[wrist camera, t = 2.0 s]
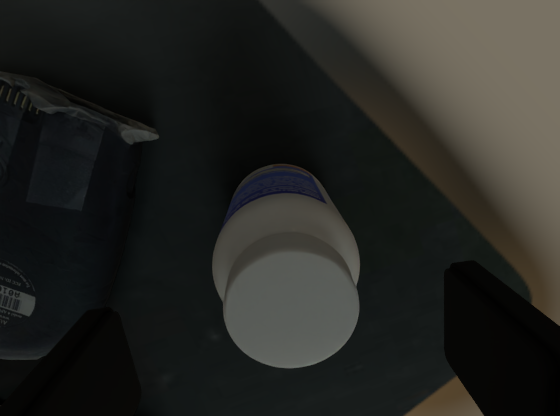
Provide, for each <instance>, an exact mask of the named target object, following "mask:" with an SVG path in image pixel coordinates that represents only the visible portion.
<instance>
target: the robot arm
mask: <svg viewBox="0 0 560 416" xmlns="http://www.w3.org/2000/svg"><path fill="white" fill-rule="evenodd" d="M444 351H445V356H446V359H447V361H448V363H449V365H450V366H451V368H452V369H453V371H454V372H455V373H456V375H457V376H458V378H459V379H460V381H461V382H462V384H463V385H464V387H465V388H466V390H467V391H468V392H469V394H470V395H471V397H472V398H473V400H474V401H475V403H476V404H477V406H478V407H479V409H480V410H481V412H482V413H483V415H484V416H560V326H559V325H557V324H556V323H555V322H553V321H552V320H551V319H550V318H548V317H547V316H546V315H544V314H543V313H542V312H541V311H539V310H538V309H537V308H535V307H534V306H533V305H531V304H530V303H529V302H528V301H526V300H525V299H524V298H522V297H521V296H520V295H518V294H517V293H516V292H515V291H513V290H512V289H511V288H509V287H508V286H507V285H506V284H504V283H503V282H502V281H500V280H499V279H498V278H496V277H495V276H494V275H493V274H491V273H490V272H489V271H487V270H486V269H485V268H483V267H482V266H481V265H480V264H478V263H477V262H476V261H474V260H473V261H464V262H457V263H452V264H451V265H450V269H446V270H445V272H444ZM140 398H141V387H140V383H139V380H138V376H137V373H136V370H135V366H134V363H133V359H132V356H131V353H130V349H129V346H128V343H127V339H126V336H125V332H124V329H123V326H122V322H121V319H120V316H119V314H118V312H116V311H115V312H113V310H112V309H111V308H109V307H107V308H99V309H91V310H87V311H86V312H85V313H84V314H83V315H82V316H81V317H80V318H79V320H78V321H77V322H76V323H75V324H74V325H73V326H72V327H71V328H70V330H69V331H68V332H67V333H66V334H65V335H64V336H63V337H62V338H61V340H60V341H59V342H58V343H57V344H56V345H55V346H54V347H53V348H52V350H51V351H50V352H49V353H48V354H47V355H46V356H45V357H44V358H43V360H42V361H41V362H40V363H39V364H38V365H37V366H36V367H35V368H34V370H33V371H32V372H31V373H30V374H29V375H28V376H27V377H26V378H25V380H24V381H23V382H22V383H21V384H20V385H19V386H18V387H17V388H16V390H15V391H14V392H13V393H12V394H11V395H10V396H9V397H8V398H7V400H6V401H5V402H4V403H3V404H2V405H1V406H0V416H134V413H135V411H136V409H137V407H138V404H139V402H140Z"/></svg>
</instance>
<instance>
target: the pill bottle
mask: <svg viewBox="0 0 560 416" xmlns="http://www.w3.org/2000/svg"><path fill="white" fill-rule="evenodd" d="M359 271H360V259H359V252H358V247H357V244H356V241H355V239H354V236H353V234H352V232H351V231H350V229H349V227H348V226H347V224H346V223H345V221H344V220H343V218H342V216H341V215H340V213H339V212H338V210H337V208H336V207H335V205H334V204H333V202H332V200H331V199H330V197H329V196H328V194H327V192H326V190H325V189H324V187H323V186H322V185H321V183H320V182H319V181H318V180H317V179H316V178H315V177H314V176H313V175H312V174H311V173H309V172H308V171H306V170H304V169H302V168H300V167H297V166H294V165H289V164H273V165H268V166H265V167H262V168H260V169H257V170H256V171H254V172H252V173H251V174H249V175H248V176H247V177H246V178H245V179H244V180H243V181H242V182H241V183H240V185H239V186H238V188H237V189H236V191H235V193H234V195H233V198H232V200H231V203H230V206H229V209H228V212H227V214H226V217H225V220H224V223H223V225H222V228H221V231H220V233H219V236H218V239H217V242H216V245H215V249H214V252H213V261H212V272H213V278H214V283H215V286H216V289H217V291H218V294H219V296H220V298H221V300H222V301H223V314H224V320H225V324H226V327H227V330H228V332H229V334H230V336H231V338H232V339H233V341H234V342H235V343H236V345H237V346H238V347H239V348H240V349H241V350H242V351H243V352H244V353H245V354H247V355H248V356H250V357H251V358H253V359H255V360H257V361H259V362H261V363H264V364H267V365H270V366H274V367H281V368H298V367H304V366H309V365H313V364H315V363H318V362H321V361H323V360H325V359H326V358H328V357H330V356H331V355H333V354H334V353H336V352H337V351H338V350H339V349H340V348H341V347H342V346H343V345H344V344H345V343H346V342H347V340H348V339H349V338H350V336H351V334H352V333H353V331H354V328H355V326H356V324H357V320H358V315H359V298H358V292H357V289H356V285H357V282H358V277H359Z"/></svg>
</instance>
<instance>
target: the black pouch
mask: <svg viewBox="0 0 560 416" xmlns="http://www.w3.org/2000/svg"><path fill="white" fill-rule="evenodd" d="M158 138H159V135H158V134H157V132H156V129H154V128H150V127H148V126H146V125H144V124H142V123H140V122H137V121H134V120H132V119H129V118H127V117H124V116H121V115H119V114H116V113H114V112H112V111H109V110H107V109H105V108H103V107H101V106H98V105H96V104H93V103H91V102H88V101H86V100H83V99H81V98H79V97H77V96H74V95H72V94H70V93H68V92H65V91H63V90H61V89H58V88H56V87H53V86H51V85H48V84H46V83H44V82H42V81H41V80H39V79H37V78H35V77H30V76H24V75H18V74H12V73H7V72H2V71H0V359H7V360H31V359H39V358H41V357H42V356H46V355H47V354H48V353H49V352H50V351H51V350H52V348H53V347H54V346H55V345H56V344H57V343H58V342H59V341H60V340H61V338H62V337H63V336H64V335H65V334H66V333H67V332H68V331H69V330H70V328H71V327H72V326H73V325H74V324H75V323H76V322H77V321H78V320H79V318H80V317H81V316H82V315H83V314H84V313H85V312H86V311H87V310H91V309H99V308H104V307H105V305H106V302H107V300H108V298H109V296H110V293H111V290H112V287H113V283H114V280H115V277H116V274H117V270H118V268H119V265H120V261H121V257H122V254H123V251H124V246H125V242H126V238H127V234H128V230H129V225H130V221H131V216H132V212H133V207H134V201H135V183H136V176H137V173H138V168H139V165H140V160H141V153H142V142H143V141H151V140H155V139H158Z"/></svg>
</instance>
